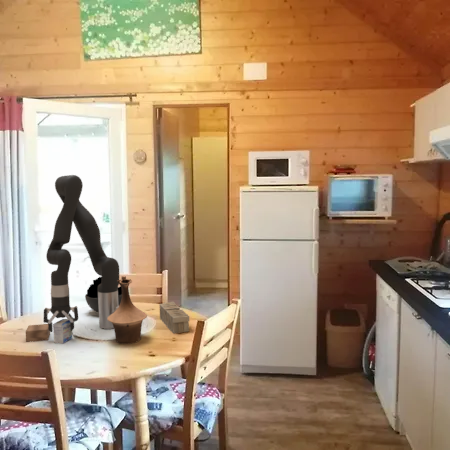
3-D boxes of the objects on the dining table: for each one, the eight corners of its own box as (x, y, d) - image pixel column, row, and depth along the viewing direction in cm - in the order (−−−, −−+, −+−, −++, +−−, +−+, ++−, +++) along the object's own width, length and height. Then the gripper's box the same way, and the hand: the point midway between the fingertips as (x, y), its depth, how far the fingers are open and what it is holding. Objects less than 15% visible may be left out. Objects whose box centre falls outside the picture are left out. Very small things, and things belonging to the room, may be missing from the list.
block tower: (159, 319, 246) (173, 335, 219) (158, 303, 246) (172, 316, 218) (174, 317, 249) (190, 332, 221) (173, 301, 248) (189, 314, 221)
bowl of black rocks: (117, 305, 271) (116, 272, 269) (130, 313, 254) (129, 278, 252) (81, 311, 260) (79, 276, 258) (92, 320, 243) (90, 283, 241)
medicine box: (63, 343, 210) (62, 324, 209) (53, 343, 211) (52, 323, 210) (72, 337, 217) (71, 318, 216) (63, 337, 218) (62, 318, 217)
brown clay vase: (105, 336, 218) (102, 274, 215) (143, 331, 224) (140, 271, 222) (111, 349, 202) (108, 282, 199) (152, 343, 208) (149, 278, 205)
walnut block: (50, 334, 224) (49, 323, 223) (48, 340, 215) (47, 329, 214) (29, 336, 222) (28, 325, 221) (26, 342, 213) (25, 331, 212)
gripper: (78, 291, 217) (79, 327, 218) (44, 293, 214) (46, 329, 216) (76, 295, 210) (77, 332, 211) (41, 297, 207) (42, 334, 208)
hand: (61, 331), depth 213 cm, fingers open, 8 cm apart
